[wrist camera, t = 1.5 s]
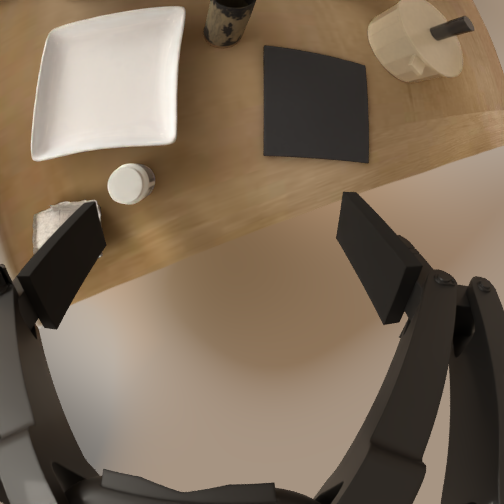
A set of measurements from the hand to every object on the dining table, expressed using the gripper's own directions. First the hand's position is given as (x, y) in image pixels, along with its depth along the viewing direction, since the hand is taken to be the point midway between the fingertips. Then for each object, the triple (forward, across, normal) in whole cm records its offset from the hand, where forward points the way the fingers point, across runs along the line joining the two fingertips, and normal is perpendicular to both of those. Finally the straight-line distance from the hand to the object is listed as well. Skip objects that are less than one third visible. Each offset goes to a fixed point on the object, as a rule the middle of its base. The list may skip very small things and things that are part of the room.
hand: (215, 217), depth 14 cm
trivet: (+29, +13, +5) cm, 32 cm away
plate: (+26, -17, +10) cm, 32 cm away
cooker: (+36, +31, +18) cm, 51 cm away
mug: (+30, -1, +17) cm, 34 cm away
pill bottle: (+22, -12, -5) cm, 26 cm away
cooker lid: (+27, +32, +21) cm, 47 cm away
